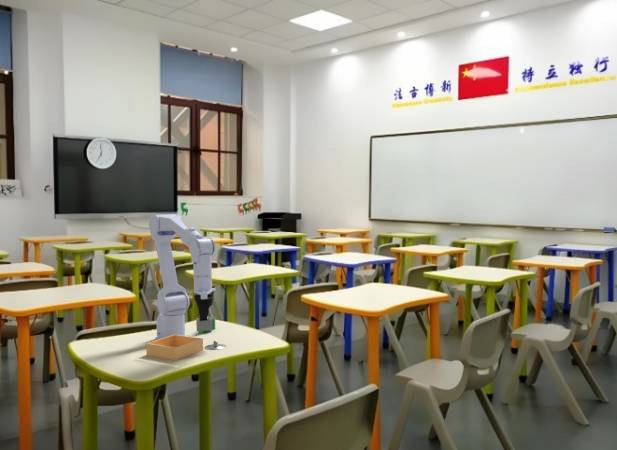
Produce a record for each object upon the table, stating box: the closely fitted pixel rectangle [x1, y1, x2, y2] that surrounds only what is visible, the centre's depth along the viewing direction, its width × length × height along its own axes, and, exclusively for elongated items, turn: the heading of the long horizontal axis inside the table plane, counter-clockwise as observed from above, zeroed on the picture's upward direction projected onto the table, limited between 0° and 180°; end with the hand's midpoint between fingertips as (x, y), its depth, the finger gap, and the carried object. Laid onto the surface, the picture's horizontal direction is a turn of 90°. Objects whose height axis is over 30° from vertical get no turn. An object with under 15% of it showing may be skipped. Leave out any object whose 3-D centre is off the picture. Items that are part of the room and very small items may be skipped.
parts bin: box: [145, 334, 204, 361], centre depth 159 cm, size 12×12×4 cm
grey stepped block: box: [195, 311, 214, 332], centre depth 162 cm, size 5×5×7 cm
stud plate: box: [204, 340, 227, 351], centre depth 164 cm, size 7×7×2 cm
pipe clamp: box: [197, 317, 216, 335], centre depth 187 cm, size 11×4×5 cm, turn 173°
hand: (203, 317), depth 162 cm, fingers closed on grey stepped block, 3 cm apart
